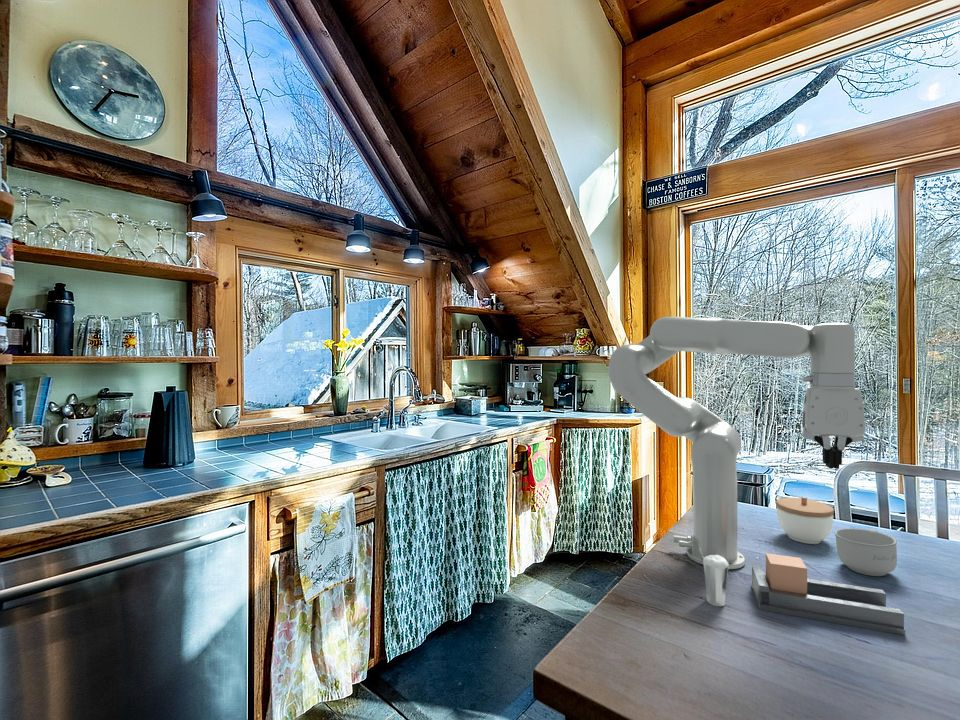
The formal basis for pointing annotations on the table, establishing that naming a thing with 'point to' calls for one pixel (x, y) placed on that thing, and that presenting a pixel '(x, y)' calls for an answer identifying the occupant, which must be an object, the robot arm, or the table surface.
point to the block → (786, 573)
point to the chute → (831, 604)
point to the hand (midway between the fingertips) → (832, 467)
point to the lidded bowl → (805, 519)
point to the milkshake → (715, 578)
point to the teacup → (867, 551)
